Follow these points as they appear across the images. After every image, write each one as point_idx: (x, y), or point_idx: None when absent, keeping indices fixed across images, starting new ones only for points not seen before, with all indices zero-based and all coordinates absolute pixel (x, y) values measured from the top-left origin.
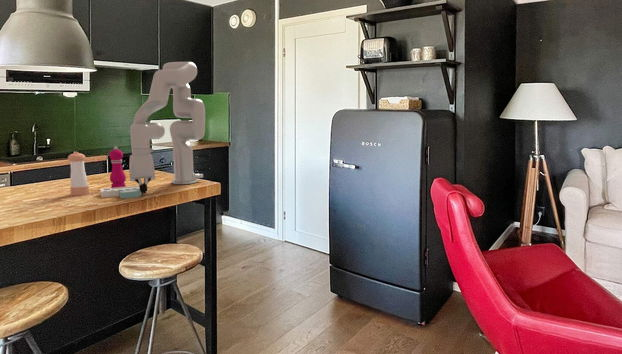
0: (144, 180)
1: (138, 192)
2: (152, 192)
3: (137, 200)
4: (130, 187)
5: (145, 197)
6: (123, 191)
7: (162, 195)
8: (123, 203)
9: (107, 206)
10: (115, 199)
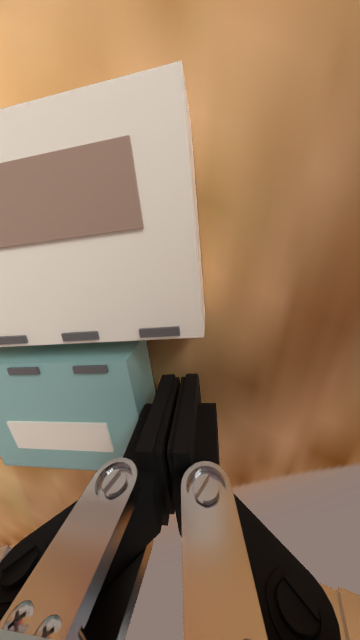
0: (189, 545)
1: None
2: (279, 302)
3: None
4: (19, 245)
5: None
6: (8, 423)
7: (326, 458)
8: None
9: (22, 532)
10: None
